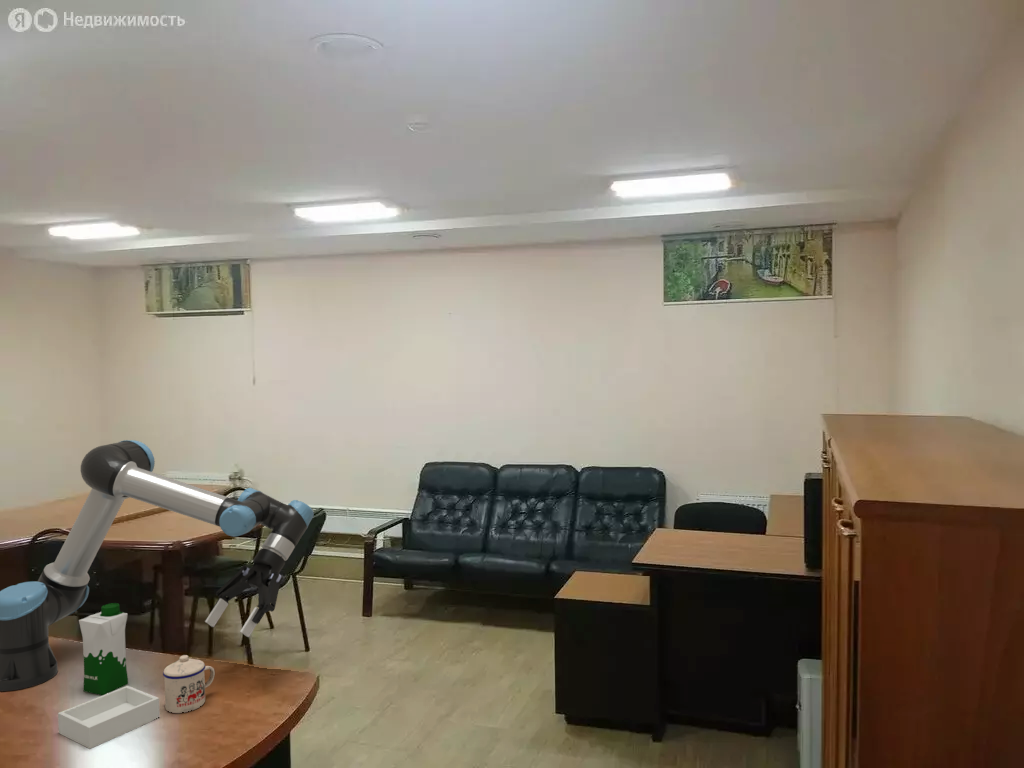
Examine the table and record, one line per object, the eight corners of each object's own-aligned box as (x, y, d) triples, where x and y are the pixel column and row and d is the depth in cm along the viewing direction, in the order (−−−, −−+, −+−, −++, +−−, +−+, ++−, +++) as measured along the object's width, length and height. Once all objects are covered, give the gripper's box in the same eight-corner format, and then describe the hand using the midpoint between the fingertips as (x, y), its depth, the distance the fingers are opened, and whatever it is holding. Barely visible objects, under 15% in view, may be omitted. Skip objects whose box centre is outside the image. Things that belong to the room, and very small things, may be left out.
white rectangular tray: (58, 733, 161) (58, 713, 161) (128, 704, 174) (127, 685, 174) (89, 748, 155) (89, 727, 154) (159, 717, 168) (159, 698, 168)
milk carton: (134, 682, 186) (131, 604, 185) (102, 698, 178) (99, 616, 177) (109, 677, 190) (106, 600, 189) (76, 692, 181) (73, 612, 180)
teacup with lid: (177, 718, 167) (175, 667, 167) (156, 707, 173) (154, 658, 172) (225, 698, 177) (223, 650, 176) (204, 688, 182) (202, 642, 182)
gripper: (314, 568, 190) (269, 645, 178) (251, 556, 204) (204, 627, 192) (298, 553, 186) (250, 631, 174) (234, 541, 199) (185, 613, 187)
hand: (226, 629), depth 183 cm, fingers open, 13 cm apart
